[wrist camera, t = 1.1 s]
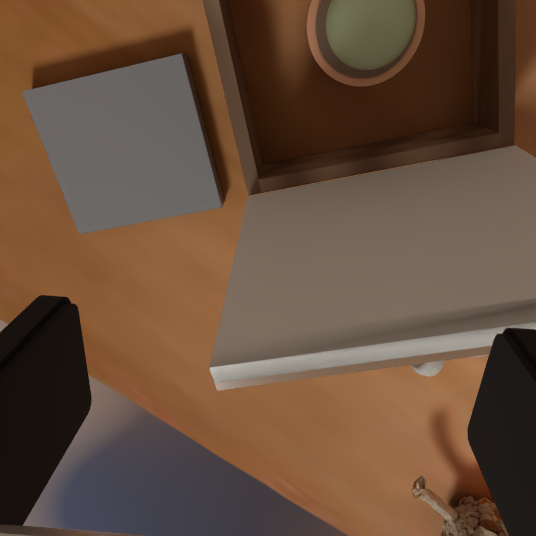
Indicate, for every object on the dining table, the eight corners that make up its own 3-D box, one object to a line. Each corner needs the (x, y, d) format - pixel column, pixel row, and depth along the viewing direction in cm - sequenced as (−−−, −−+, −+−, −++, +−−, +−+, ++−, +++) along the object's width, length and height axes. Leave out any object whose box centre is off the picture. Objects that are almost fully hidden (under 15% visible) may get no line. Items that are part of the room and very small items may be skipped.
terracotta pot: (393, -36, 33) (442, -79, 22) (402, 68, 35) (449, 76, 24) (297, -12, 34) (297, -42, 23) (313, 87, 36) (320, 104, 25)
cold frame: (482, -173, 29) (516, -213, 25) (487, 132, 37) (514, 144, 32) (193, -91, 32) (176, -114, 27) (254, 178, 40) (248, 195, 35)
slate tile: (185, 53, 36) (181, 53, 34) (224, 201, 41) (221, 207, 39) (31, 90, 38) (21, 91, 36) (86, 228, 42) (79, 234, 41)
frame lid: (248, 196, 35) (251, 211, 35) (209, 367, 18) (217, 390, 19) (516, 145, 32) (515, 162, 33) (755, 291, 16) (745, 320, 16)
